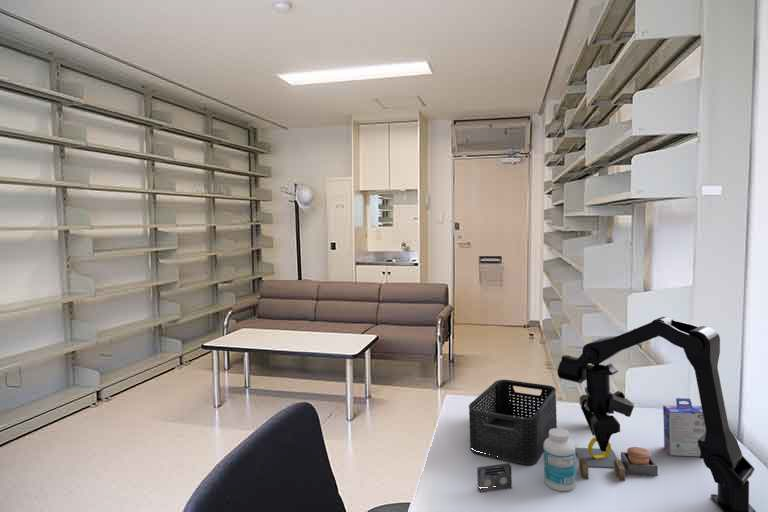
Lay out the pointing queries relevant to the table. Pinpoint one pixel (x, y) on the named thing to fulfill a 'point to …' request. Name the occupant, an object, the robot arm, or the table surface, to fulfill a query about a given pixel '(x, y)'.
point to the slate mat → (593, 462)
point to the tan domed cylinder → (638, 455)
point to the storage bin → (512, 421)
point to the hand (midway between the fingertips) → (598, 442)
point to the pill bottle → (559, 460)
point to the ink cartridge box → (683, 428)
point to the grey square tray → (639, 466)
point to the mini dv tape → (494, 477)
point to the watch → (598, 455)
